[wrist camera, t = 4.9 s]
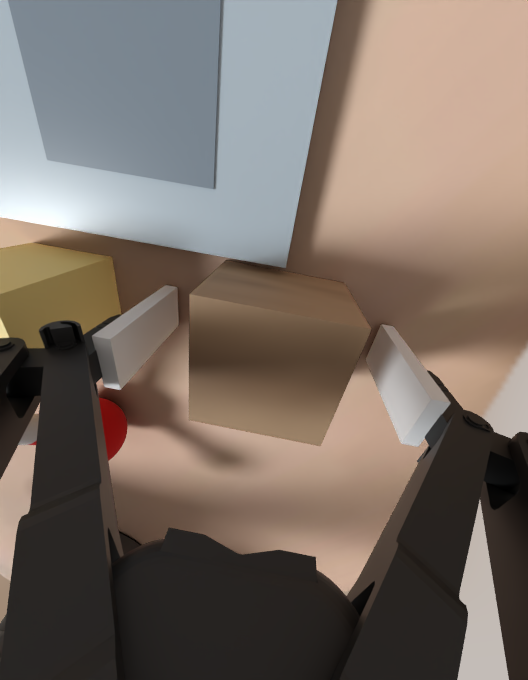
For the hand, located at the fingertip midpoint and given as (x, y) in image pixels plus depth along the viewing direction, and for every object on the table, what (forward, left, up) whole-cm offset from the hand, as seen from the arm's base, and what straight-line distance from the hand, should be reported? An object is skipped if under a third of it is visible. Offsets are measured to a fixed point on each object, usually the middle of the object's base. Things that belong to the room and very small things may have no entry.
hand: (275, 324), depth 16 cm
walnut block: (0, 0, 0) cm, 0 cm away
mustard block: (0, +13, 0) cm, 13 cm away
